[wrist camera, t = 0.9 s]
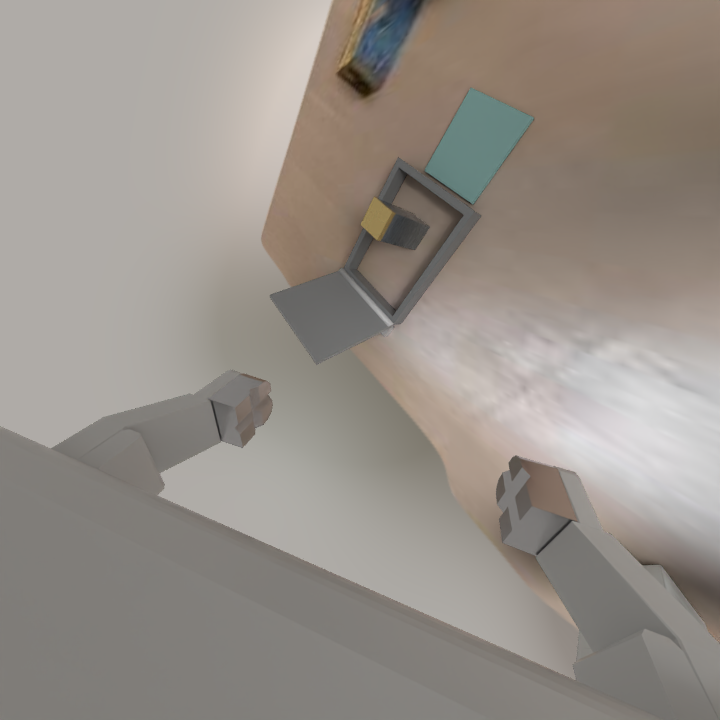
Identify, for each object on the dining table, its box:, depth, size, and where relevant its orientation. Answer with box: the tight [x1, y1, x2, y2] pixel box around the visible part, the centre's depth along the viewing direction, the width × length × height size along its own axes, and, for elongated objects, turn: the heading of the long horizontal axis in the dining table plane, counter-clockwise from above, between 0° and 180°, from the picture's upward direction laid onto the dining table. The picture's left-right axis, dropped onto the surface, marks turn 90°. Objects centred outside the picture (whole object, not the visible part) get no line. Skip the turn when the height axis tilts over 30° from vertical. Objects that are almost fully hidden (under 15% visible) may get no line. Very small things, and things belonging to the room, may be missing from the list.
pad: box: [424, 88, 534, 204], centre depth 36 cm, size 10×10×1 cm
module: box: [361, 197, 430, 250], centre depth 40 cm, size 4×4×10 cm
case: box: [270, 157, 481, 365], centre depth 42 cm, size 27×16×16 cm, turn 141°
